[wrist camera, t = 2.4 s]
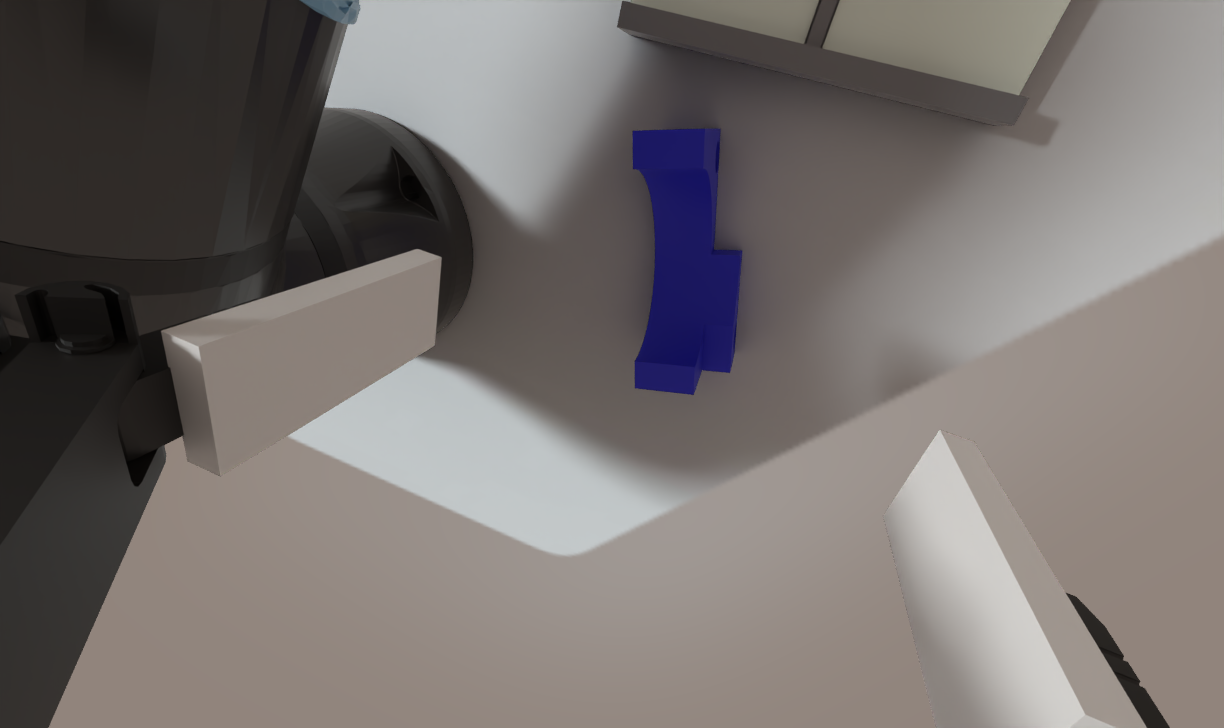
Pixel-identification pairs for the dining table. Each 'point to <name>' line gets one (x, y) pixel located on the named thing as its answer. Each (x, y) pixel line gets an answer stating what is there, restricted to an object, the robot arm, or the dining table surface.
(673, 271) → the cable clip
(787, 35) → the board
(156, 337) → the robot arm
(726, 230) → the dining table surface
